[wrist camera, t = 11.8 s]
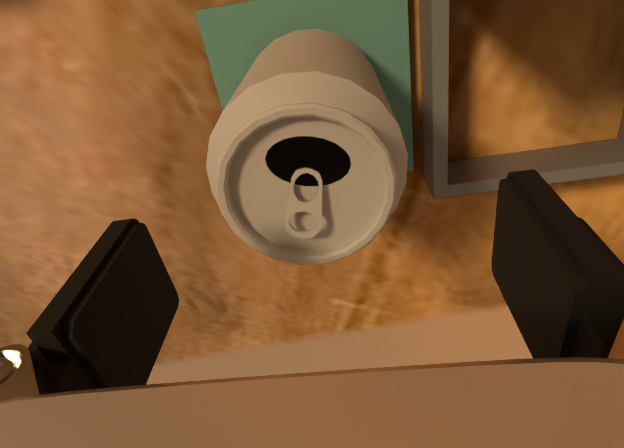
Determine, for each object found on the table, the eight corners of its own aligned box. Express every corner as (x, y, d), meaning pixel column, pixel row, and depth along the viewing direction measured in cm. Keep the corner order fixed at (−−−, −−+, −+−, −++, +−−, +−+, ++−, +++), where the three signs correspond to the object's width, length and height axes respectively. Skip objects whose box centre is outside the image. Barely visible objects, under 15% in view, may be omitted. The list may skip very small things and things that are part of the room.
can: (387, 32, 22) (442, 96, 12) (366, 161, 27) (394, 289, 16) (247, 19, 22) (185, 73, 12) (247, 151, 26) (200, 274, 16)
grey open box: (698, -129, 19) (1199, -240, 8) (627, 148, 26) (845, 286, 15) (417, -74, 20) (527, -106, 10) (423, 176, 28) (490, 322, 17)
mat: (404, -29, 21) (406, -28, 21) (412, 166, 27) (414, 170, 27) (197, 10, 23) (194, 11, 22) (247, 189, 28) (246, 193, 28)
